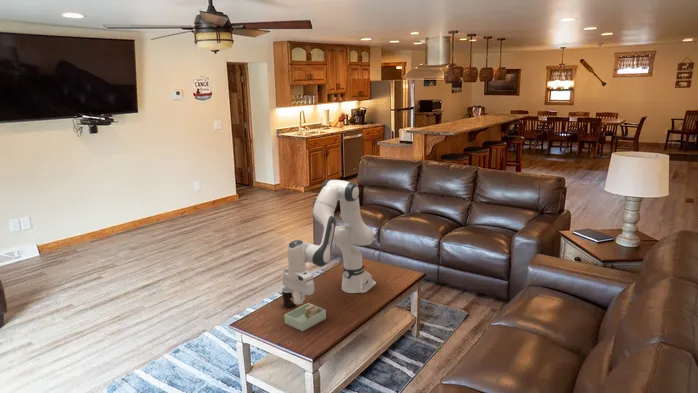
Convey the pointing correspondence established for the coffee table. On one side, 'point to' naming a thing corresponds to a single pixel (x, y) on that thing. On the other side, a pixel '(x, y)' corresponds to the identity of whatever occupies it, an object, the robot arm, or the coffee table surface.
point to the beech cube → (311, 311)
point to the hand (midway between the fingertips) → (298, 298)
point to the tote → (304, 318)
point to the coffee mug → (288, 298)
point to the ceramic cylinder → (297, 297)
